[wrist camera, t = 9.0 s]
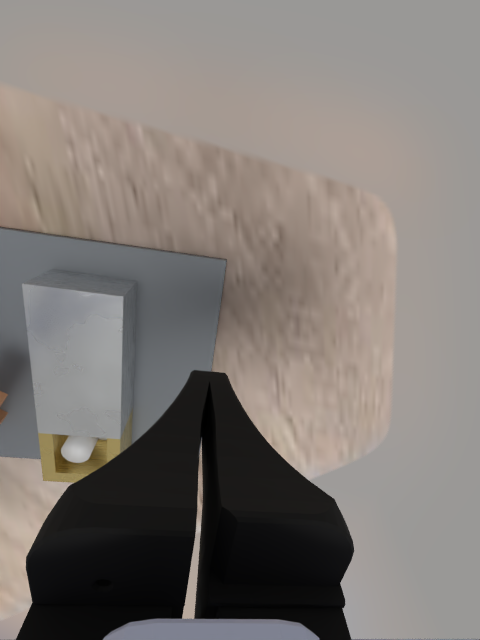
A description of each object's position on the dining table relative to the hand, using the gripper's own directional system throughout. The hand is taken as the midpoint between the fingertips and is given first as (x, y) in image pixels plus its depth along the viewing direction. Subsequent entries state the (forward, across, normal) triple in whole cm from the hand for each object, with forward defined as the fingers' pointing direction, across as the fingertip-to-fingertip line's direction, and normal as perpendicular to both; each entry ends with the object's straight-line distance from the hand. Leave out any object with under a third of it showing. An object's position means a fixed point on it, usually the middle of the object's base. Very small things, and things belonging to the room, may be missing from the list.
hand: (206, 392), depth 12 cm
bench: (+8, +8, +5) cm, 13 cm away
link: (+8, +7, +5) cm, 12 cm away
